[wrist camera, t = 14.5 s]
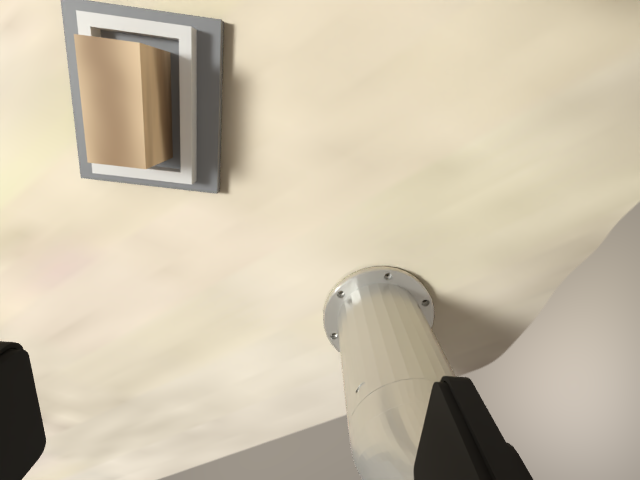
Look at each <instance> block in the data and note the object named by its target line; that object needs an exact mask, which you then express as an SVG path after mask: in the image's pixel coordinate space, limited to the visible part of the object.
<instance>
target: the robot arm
mask: <svg viewBox="0 0 640 480" xmlns="http://www.w3.org/2000/svg"><path fill="white" fill-rule="evenodd" d="M387 273H389V274H388V275H385V274H387ZM339 291H342V292H339ZM423 300H424V301H423ZM323 320H324V329H325V332H326V335H327V337H328V339H329V341H330V343H331V344H332V345H333V346H334V347H335V349H336V350H337V351H339V352H340V354H341V363H342V373H343V382H344V392H345V401H346V411H347V420H348V430H349V437H350V446H351V452H352V456H353V460H354V463H355V466H356V468H357V470H358V472H359V474H360V476H361V478H362V480H533V479H532V477H531V475H530V473H529V472H528V470H527V468H526V466H525V465H524V463H523V461H522V459H521V458H520V456H519V454H518V453H517V451H516V450H515V449H514V447H513V446H511V445H510V444H509V443H506V442H505V440H504V438H503V436H502V435H501V433H500V431H499V429H498V427H497V426H496V424H495V422H494V420H493V418H492V417H491V415H490V413H489V411H488V409H487V408H486V406H485V404H484V402H483V401H482V399H481V397H480V395H479V394H478V392H477V390H476V388H475V386H474V385H473V383H472V381H471V380H470V379H469V378H466V377H455V375H454V373H453V371H452V369H451V367H450V365H449V363H448V361H447V359H446V357H445V355H444V353H443V351H442V349H441V347H440V345H439V343H438V341H437V339H436V337H435V335H434V333H433V331H432V326H433V322H434V305H433V302H432V298H431V296H430V295H429V293H428V291H427V289H426V288H425V287H424V285H423V284H422V283H421V282H420V281H419V280H418V279H417V278H416V277H415V276H413V275H411V274H410V273H408V272H406V271H403V270H401V269H398V268H393V267H387V266H379V267H370V268H365V269H362V270H359V271H357V272H354V273H352V274H350V275H349V276H347V277H345V278H344V279H343V280H342V281H340V282H339V283H338V284H337V285H336V286H335V288H334V289H333V290H332V291H331V293H330V295H329V297H328V299H327V301H326V304H325V307H324V317H323ZM45 444H46V437H45V432H44V427H43V422H42V417H41V412H40V407H39V403H38V398H37V393H36V388H35V383H34V378H33V373H32V368H31V363H30V359H29V355H28V352H27V351H25V350H23V347H22V346H21V345H20V344H19V343H15V342H2V341H0V480H22V478H23V477H24V476H25V475H26V474H27V472H28V471H29V470H30V469H31V467H32V466H33V465H34V464H35V463H36V461H37V460H38V459H39V457H40V456H41V455H42V453H43V451H44V448H45Z"/></svg>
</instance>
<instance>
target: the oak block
mask: <svg viewBox="0 0 640 480" xmlns="http://www.w3.org/2000/svg"><path fill="white" fill-rule="evenodd" d="M74 41H75V50H76V60H77V69H78V78H79V87H80V97H81V106H82V115H83V124H84V134H85V143H86V152H87V162H88V163H95V164H104V165H113V166H122V167H130V168H139V169H148V168H150V167H152V166H155V165H157V164H159V163H162V162H164V161H166V160H169V159H171V158H173V142H172V100H171V59H170V52H168V51H164V50H161V49H158V48H155V47H152V46H148V45H145V44H142V43H138V42H131V41H123V40H116V39H108V38H101V37H94V36H86V35H79V34H74Z"/></svg>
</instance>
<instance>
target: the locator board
mask: <svg viewBox="0 0 640 480" xmlns="http://www.w3.org/2000/svg"><path fill="white" fill-rule="evenodd" d="M61 7H62V16H63V25H64V33H65V42H66V51H67V60H68V69H69V77H70V86H71V95H72V104H73V113H74V121H75V130H76V139H77V148H78V156H79V165H80V174H81V178H86V179H95V180H104V181H113V182H121V183H130V184H139V185H147V186H156V187H165V188H174V189H182V190H191V191H200V192H208V193H218V192H219V191H220V152H221V112H222V71H223V31H224V22H223V21H222V20H220V19H213V18H206V17H199V16H192V15H185V14H178V13H171V12H164V11H157V10H150V9H144V8H137V7H130V6H123V5H116V4H109V3H102V2H95V1H88V0H61ZM74 34H79V35H86V36H94V37H101V38H108V39H116V40H123V41H131V42H138V43H142V44H145V45H148V46H152V47H155V48H158V49H161V50H164V51H168V52H170V59H171V100H172V142H173V158H171V159H169V160H166V161H164V162H162V163H159V164H157V165H155V166H152V167H150V168H148V169H139V168H130V167H122V166H113V165H104V164H95V163H88V162H87V152H86V143H85V134H84V124H83V115H82V106H81V97H80V87H79V78H78V69H77V60H76V50H75V41H74Z"/></svg>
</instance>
